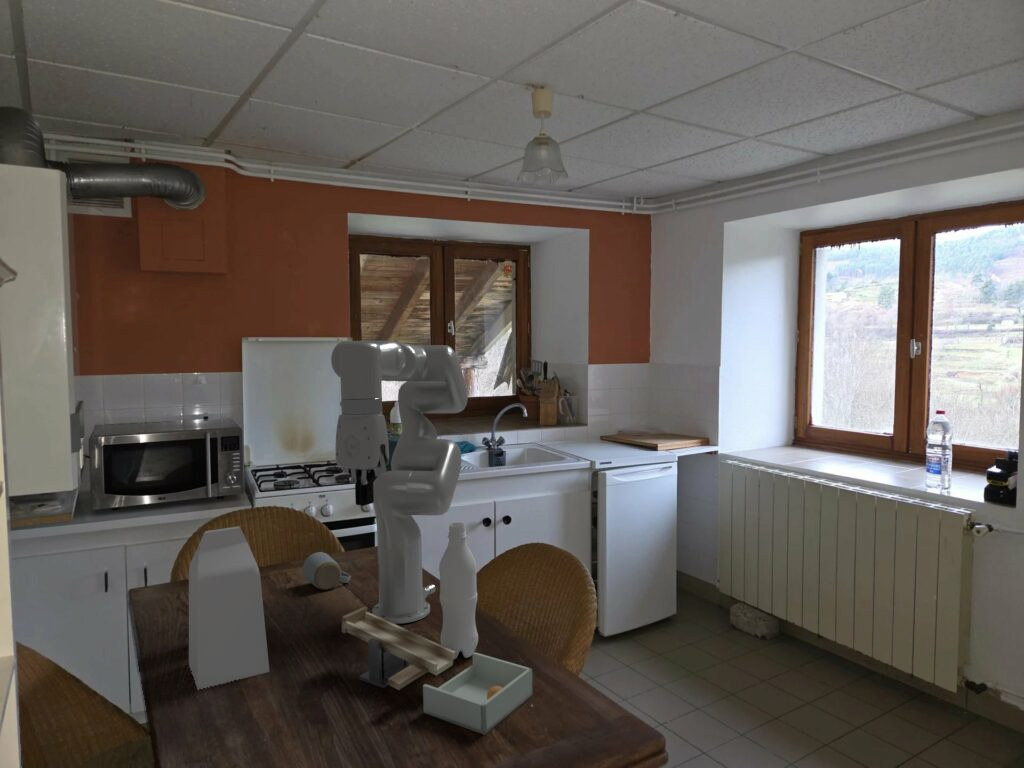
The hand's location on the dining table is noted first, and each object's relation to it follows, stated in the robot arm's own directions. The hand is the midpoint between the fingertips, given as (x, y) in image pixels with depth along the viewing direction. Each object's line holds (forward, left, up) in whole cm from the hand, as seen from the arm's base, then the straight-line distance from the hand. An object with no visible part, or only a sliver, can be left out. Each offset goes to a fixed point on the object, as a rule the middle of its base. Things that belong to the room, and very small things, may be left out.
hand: (364, 503), depth 132 cm
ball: (+4, +33, -27) cm, 42 cm away
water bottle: (-9, +15, -29) cm, 34 cm away
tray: (+4, +29, -29) cm, 41 cm away
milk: (+18, -18, -29) cm, 39 cm away
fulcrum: (+4, +9, -29) cm, 31 cm away
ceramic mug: (-22, -36, -29) cm, 52 cm away
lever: (+7, +11, -24) cm, 27 cm away
